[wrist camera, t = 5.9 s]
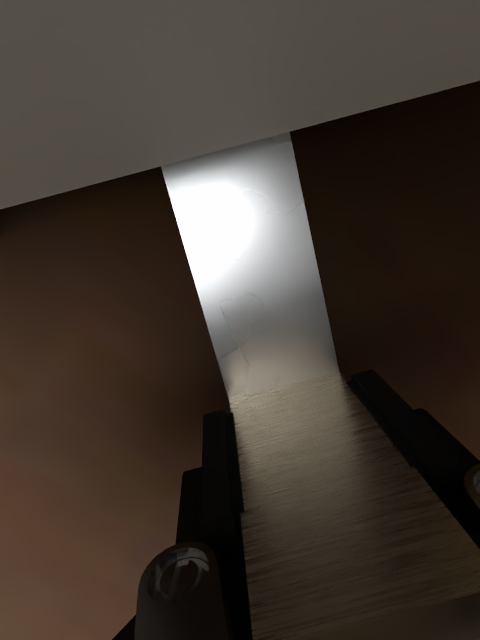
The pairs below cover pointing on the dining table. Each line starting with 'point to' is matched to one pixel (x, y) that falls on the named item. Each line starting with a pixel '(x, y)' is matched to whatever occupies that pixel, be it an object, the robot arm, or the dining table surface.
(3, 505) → the dining table surface
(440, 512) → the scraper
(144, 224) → the dining table surface
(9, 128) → the cabinet
